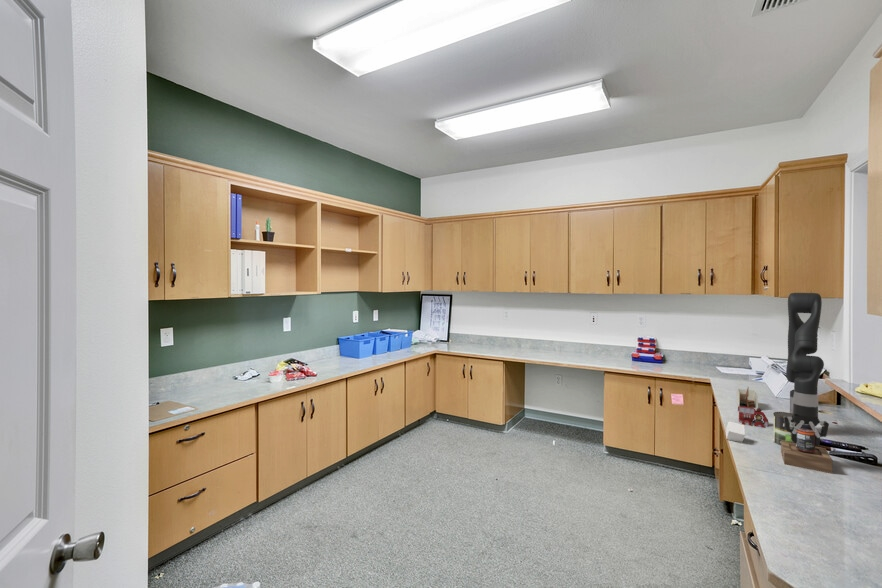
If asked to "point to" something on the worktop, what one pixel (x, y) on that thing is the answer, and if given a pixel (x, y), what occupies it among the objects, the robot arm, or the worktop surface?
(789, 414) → the coffee can
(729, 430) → the white cube
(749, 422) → the toy fire truck
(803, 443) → the supplement bottle
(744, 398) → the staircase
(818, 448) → the walnut block
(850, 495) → the worktop surface
